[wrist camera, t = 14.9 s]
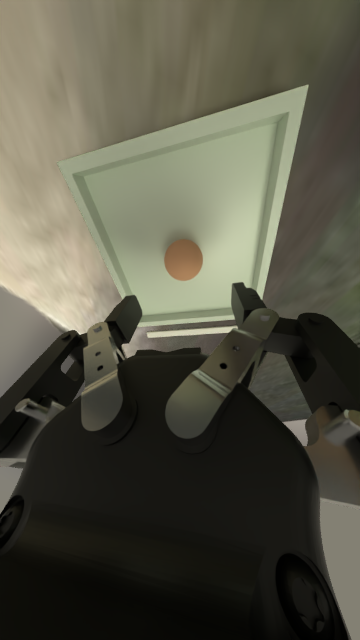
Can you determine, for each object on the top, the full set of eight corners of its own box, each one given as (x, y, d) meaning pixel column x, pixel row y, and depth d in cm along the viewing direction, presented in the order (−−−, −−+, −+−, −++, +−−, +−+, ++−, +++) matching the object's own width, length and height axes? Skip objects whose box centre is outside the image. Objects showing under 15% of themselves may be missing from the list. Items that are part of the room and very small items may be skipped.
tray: (288, 105, 13) (308, 84, 11) (252, 307, 26) (258, 317, 24) (75, 167, 16) (56, 162, 14) (140, 317, 30) (135, 327, 28)
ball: (200, 232, 19) (202, 240, 15) (203, 270, 22) (205, 285, 18) (163, 239, 20) (156, 248, 16) (171, 274, 23) (166, 289, 19)
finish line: (249, 324, 29) (249, 325, 29) (248, 330, 30) (248, 331, 30) (146, 331, 33) (146, 332, 32) (148, 336, 34) (148, 337, 33)
